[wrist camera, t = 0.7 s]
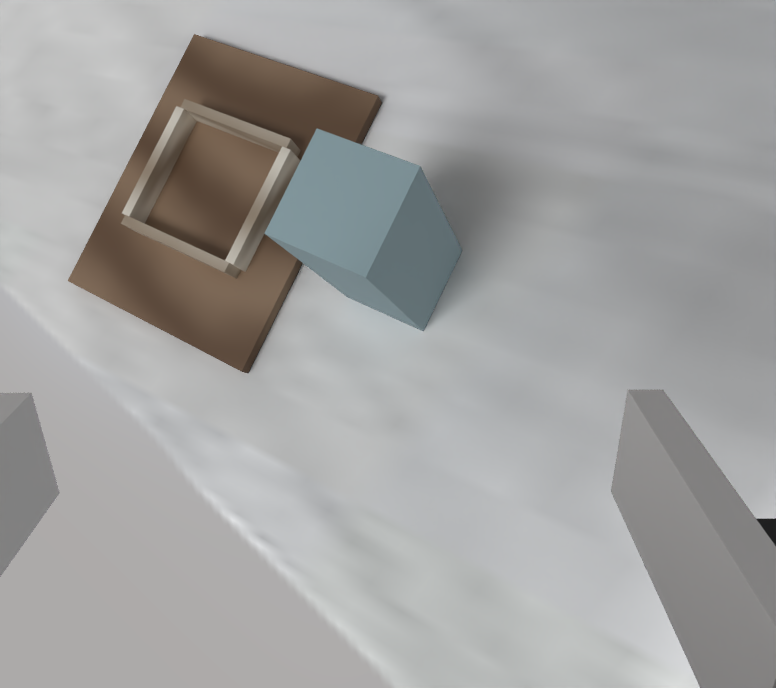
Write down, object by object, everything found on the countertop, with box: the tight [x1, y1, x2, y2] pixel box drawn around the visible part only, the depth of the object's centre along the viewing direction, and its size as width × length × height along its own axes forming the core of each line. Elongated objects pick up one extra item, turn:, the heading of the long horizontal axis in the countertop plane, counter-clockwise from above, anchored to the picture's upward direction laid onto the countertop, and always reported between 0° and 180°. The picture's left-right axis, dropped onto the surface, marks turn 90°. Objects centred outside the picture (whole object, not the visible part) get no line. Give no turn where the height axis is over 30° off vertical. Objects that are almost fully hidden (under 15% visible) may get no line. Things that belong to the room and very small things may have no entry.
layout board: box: [68, 34, 382, 373], centre depth 41 cm, size 18×14×2 cm
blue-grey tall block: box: [264, 129, 462, 331], centre depth 33 cm, size 5×5×11 cm
